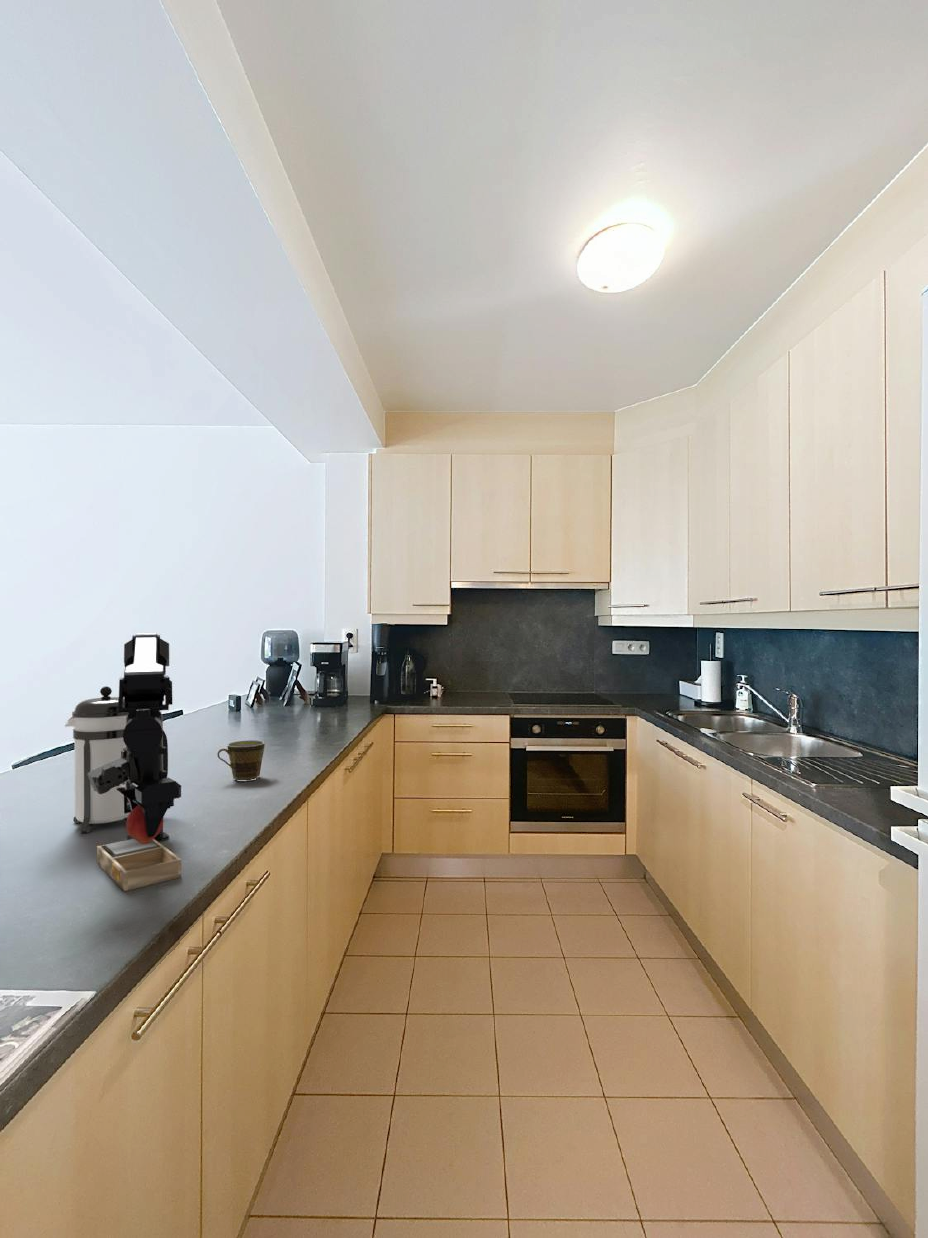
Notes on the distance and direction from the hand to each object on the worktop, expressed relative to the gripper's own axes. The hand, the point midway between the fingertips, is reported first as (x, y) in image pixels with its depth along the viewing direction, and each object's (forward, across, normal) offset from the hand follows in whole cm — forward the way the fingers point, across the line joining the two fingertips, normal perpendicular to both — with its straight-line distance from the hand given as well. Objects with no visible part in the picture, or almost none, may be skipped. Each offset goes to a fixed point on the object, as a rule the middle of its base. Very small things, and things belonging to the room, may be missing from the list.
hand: (145, 832), depth 114 cm
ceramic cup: (+8, -56, +42) cm, 71 cm away
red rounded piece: (+2, 0, 0) cm, 2 cm away
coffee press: (+8, -39, +4) cm, 40 cm away
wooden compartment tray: (+8, -4, 0) cm, 9 cm away
